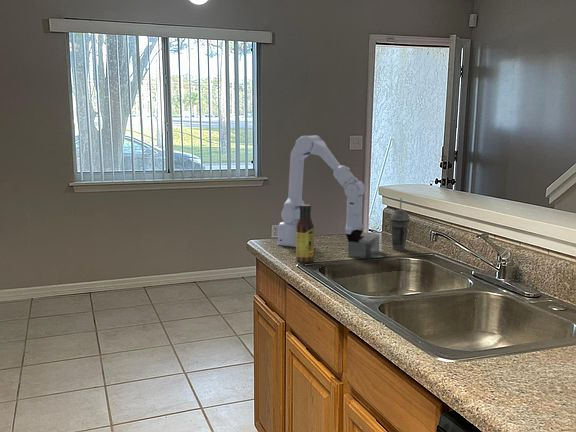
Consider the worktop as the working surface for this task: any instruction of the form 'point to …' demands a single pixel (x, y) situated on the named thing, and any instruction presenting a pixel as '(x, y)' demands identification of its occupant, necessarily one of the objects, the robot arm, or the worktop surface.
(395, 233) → the beverage cup
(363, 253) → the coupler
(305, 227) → the sauce bottle
